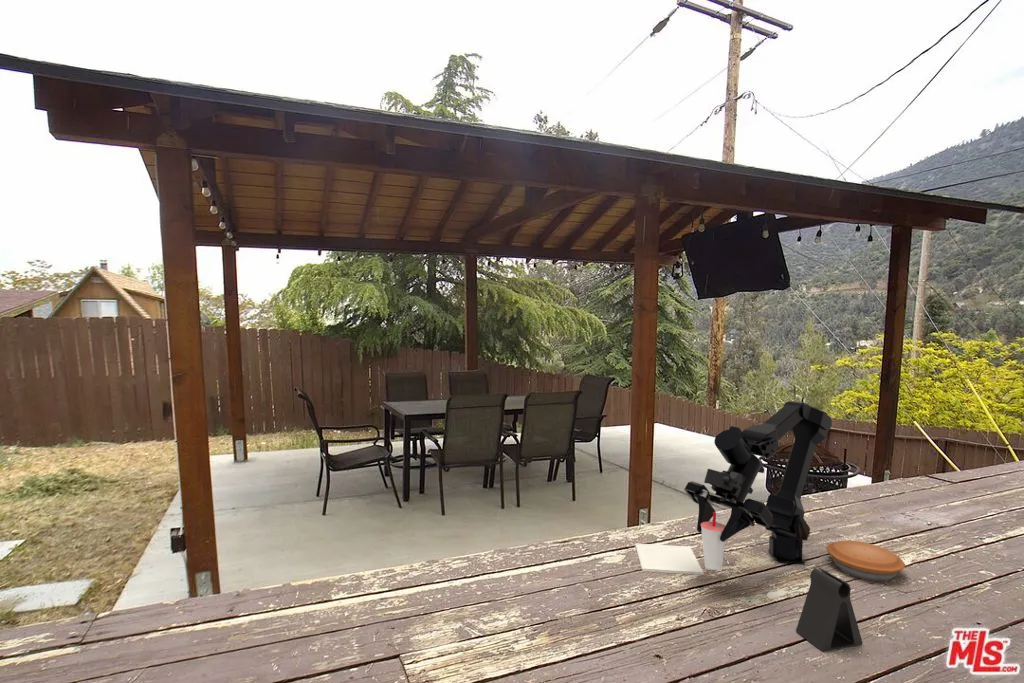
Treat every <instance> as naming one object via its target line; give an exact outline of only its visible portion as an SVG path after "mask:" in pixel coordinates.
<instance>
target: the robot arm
mask: <svg viewBox="0 0 1024 683" xmlns="http://www.w3.org/2000/svg"><path fill="white" fill-rule="evenodd" d="M832 424H833V421H832V418H831V417H830V416H829V414H828V413H827V412H826V411H823V410H820V409H817V408H815V407H812V406H811V405H809V404H808V403H806V402H802V401H801V402H800V401H792V400H790V401H785V402H784V405H783V407H781V408H780V409H779V410H778V411H776V412H775V413H773V415H771V416H770V417H769V418H768V419H767V420H765V421H764V422H762V423H761V424H754V425H750V426H748V427H747V428H744V429H743V430H741V428H740V427H738V426H733V425H730V427H729V429H726V430H723V431H721V432H719V433H718V434H717V435H716V436H715V438H714V442H713V443H714V446H715V447H716V448H717V450H718V451H719V453H720V454H721V456H722V457H723V459H724V460H725V461H726V463H728V464H730V465H729V467H728V469H727V470H722V471H719V470H715V469H711V468H707V471H706V473H705V478H704V480H703V483H705V484H708V485H711V487H710V488H711V490H712V491H714V492H715V493H714V492H710V491H709V490H708V487H706V486H705V484H702V483H698V482H695V481H689V482H687V483H686V485H685V487H684V488H683V490H684V491H685V492H686V494H687V495H688V496H689V498H690V499H691V500H692V502H694V503H695V504H696V505H698V517H697V524H696V525H697V526H696V531H697V532H698V533H701V534H702V529H701V523H702V522H708V521H710V522H711V520H712V519H713V512H715V513H716V512H717V511H716V509H714V507H713V504H717V505H719V506H722V507H726V508H729V509H731V510H730V517H728V518H729V519H728V520H727V523H726V524H725V528H724V530H723V532H722V534H721V537H720V540H721V541H722V542H724V541H725V542H726V541H727V540H728V539H730V538H732V537H733V536H734V535H736V534H737V533H739V532H741V531H743V530H745V529H746V528H749V527H750V526H751V527H755V526H756V525H758V526H761V527H764V528H765V530H766V531H770V532H771V535H770V536H769V538H768V540H769V543H768V547H769V548H768V549H767V550H768V553H769V554H770V555H771V556H772V557H773V558H774V560H776V562H778V563H787V564H789V563H790V564H806V560H805V559H804V558H803V541H808V539H809V537H810V531H811V528H810V526H809V525H808V523H807V521H806V520H805V518H804V517H805V512H806V511H805V509H804V507H803V503H802V500H801V498H802V495H803V491H804V487H805V484H806V481H807V477H808V473H809V470H810V466H811V464H812V461H813V457H814V454H815V449H816V447H817V446H818V445H819V444H820V443H821V442H823V441H824V440H825V439H826V438H827V435H828V433H829V431H830V429H831V428H832ZM789 431H792V434H793V436H794V441H793V444H792V448H791V451H790V454H789V457H788V460H787V464H786V467H785V471H784V474H783V478H782V481H781V484H780V486H779V490H778V491H777V492H776V493H775V494H773V493H770V494H769V495H768V496H767V501H766V503H764V502H762V501H759V500H756V499H751V498H747V496H748V494H750V495H751V494H753V492H754V489H753V488H752V486H753V484H754V482H755V480H756V477H757V476H758V474H759V473H760V474H764V473H765V467H764V466H763V461H762V460H759V457H761V458H762V457H763V458H767V459H769V458H771V457H773V456H774V454H775V453H776V452H777V451H778V449H779V448H780V444H779V441H780V440H781V439H782V437H784V436H785V435H787V433H788V432H789ZM758 456H759V457H758ZM755 523H756V524H755Z"/></svg>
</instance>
